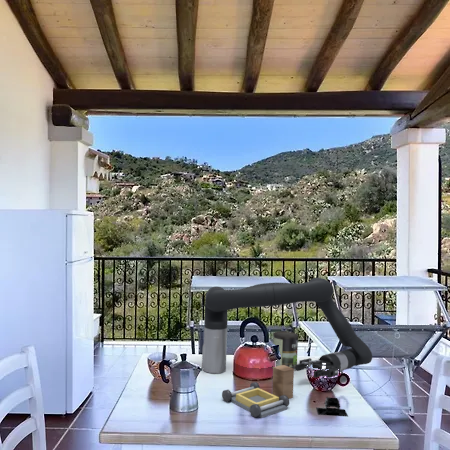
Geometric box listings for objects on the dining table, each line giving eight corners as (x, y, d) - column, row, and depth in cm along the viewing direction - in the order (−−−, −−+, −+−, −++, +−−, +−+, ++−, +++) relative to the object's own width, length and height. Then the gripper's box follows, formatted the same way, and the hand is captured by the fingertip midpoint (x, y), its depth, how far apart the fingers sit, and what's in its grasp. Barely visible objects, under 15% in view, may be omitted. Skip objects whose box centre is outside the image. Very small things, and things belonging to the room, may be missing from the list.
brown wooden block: (272, 396, 151) (273, 367, 151) (282, 393, 154) (283, 364, 154) (282, 401, 147) (283, 371, 147) (292, 397, 150) (293, 368, 150)
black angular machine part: (313, 417, 137) (314, 402, 137) (310, 407, 144) (311, 393, 144) (354, 419, 136) (354, 405, 136) (349, 409, 143) (349, 396, 143)
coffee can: (300, 366, 184) (301, 333, 184) (293, 373, 174) (294, 338, 174) (276, 362, 188) (277, 329, 188) (268, 369, 179) (269, 335, 179)
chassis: (221, 399, 147) (221, 388, 147) (252, 390, 155) (252, 380, 155) (257, 419, 132) (258, 407, 132) (289, 408, 141) (290, 397, 141)
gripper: (319, 349, 173) (290, 356, 163) (349, 358, 162) (321, 366, 152) (318, 367, 173) (290, 376, 163) (348, 378, 162) (320, 387, 152)
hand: (305, 371), depth 157 cm, fingers open, 8 cm apart
